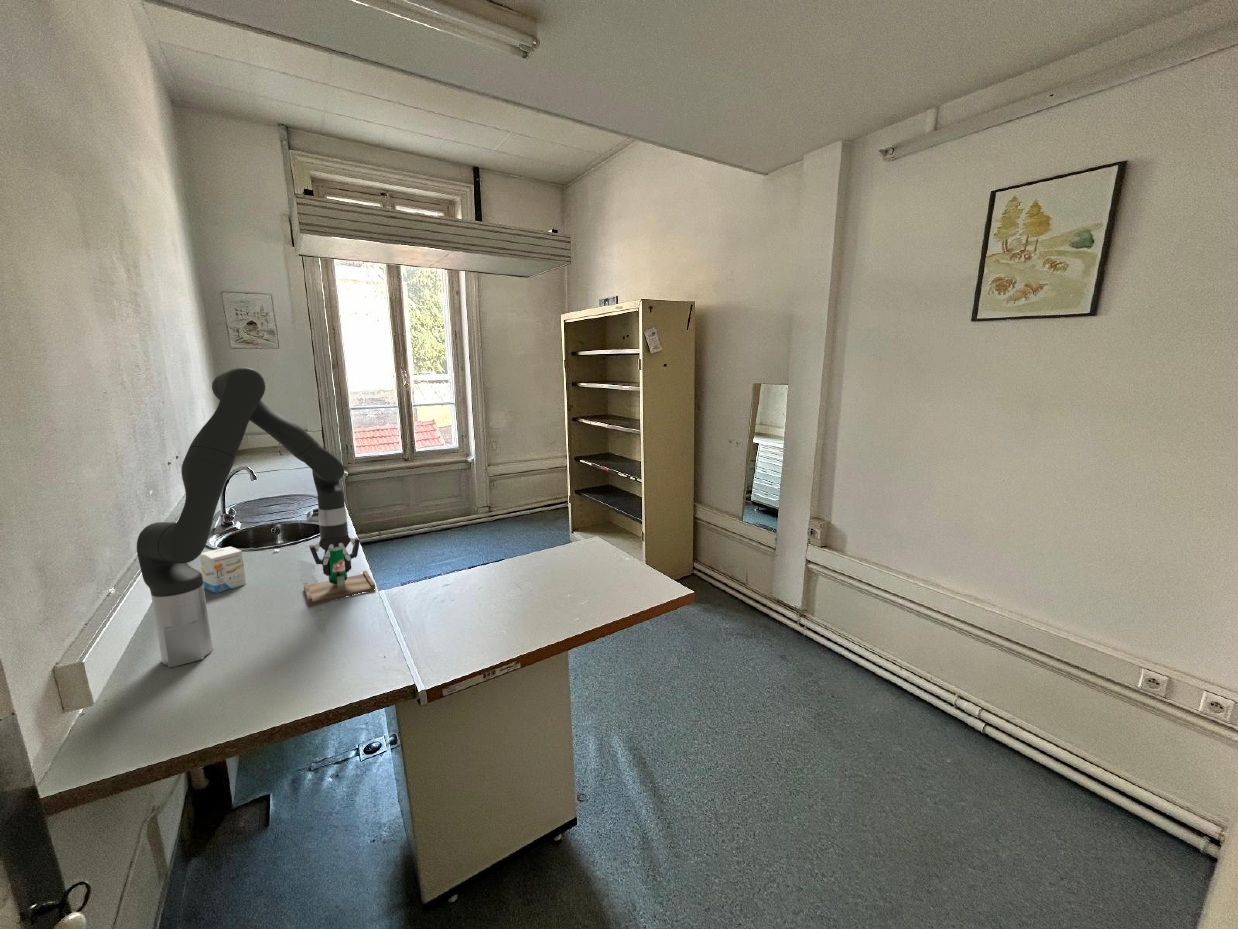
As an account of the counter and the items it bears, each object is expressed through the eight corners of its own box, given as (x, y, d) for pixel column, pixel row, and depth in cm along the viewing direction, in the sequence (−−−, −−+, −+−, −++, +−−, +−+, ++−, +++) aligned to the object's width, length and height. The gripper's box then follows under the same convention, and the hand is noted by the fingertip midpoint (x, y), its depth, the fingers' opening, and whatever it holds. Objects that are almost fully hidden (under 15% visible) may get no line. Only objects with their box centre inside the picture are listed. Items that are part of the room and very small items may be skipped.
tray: (375, 590, 154) (374, 572, 153) (308, 606, 143) (306, 586, 142) (366, 576, 165) (365, 559, 164) (304, 589, 154) (302, 571, 153)
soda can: (334, 586, 150) (331, 549, 148) (325, 582, 152) (322, 546, 150) (350, 580, 154) (347, 544, 152) (342, 577, 157) (338, 541, 155)
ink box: (215, 594, 150) (210, 558, 148) (203, 588, 154) (198, 553, 152) (247, 584, 157) (242, 550, 155) (234, 578, 162) (230, 545, 160)
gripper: (307, 528, 143) (312, 582, 145) (361, 520, 151) (365, 571, 154) (304, 522, 148) (309, 574, 151) (356, 515, 157) (360, 564, 160)
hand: (337, 572), depth 153 cm, fingers closed on soda can, 5 cm apart
